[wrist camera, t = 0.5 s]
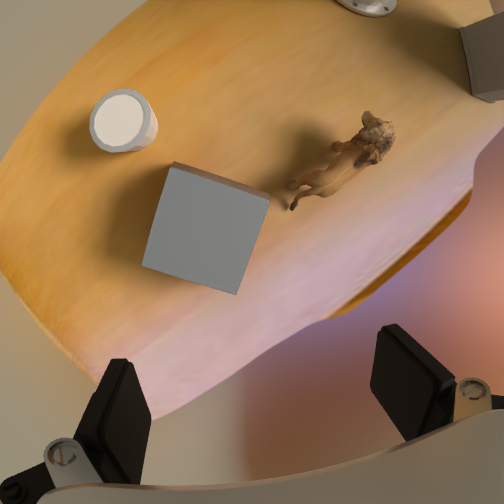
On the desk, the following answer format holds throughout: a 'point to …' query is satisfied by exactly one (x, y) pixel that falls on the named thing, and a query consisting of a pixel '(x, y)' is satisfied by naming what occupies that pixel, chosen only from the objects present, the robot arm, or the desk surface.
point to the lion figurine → (349, 159)
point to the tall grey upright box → (485, 57)
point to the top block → (204, 231)
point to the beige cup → (123, 122)
